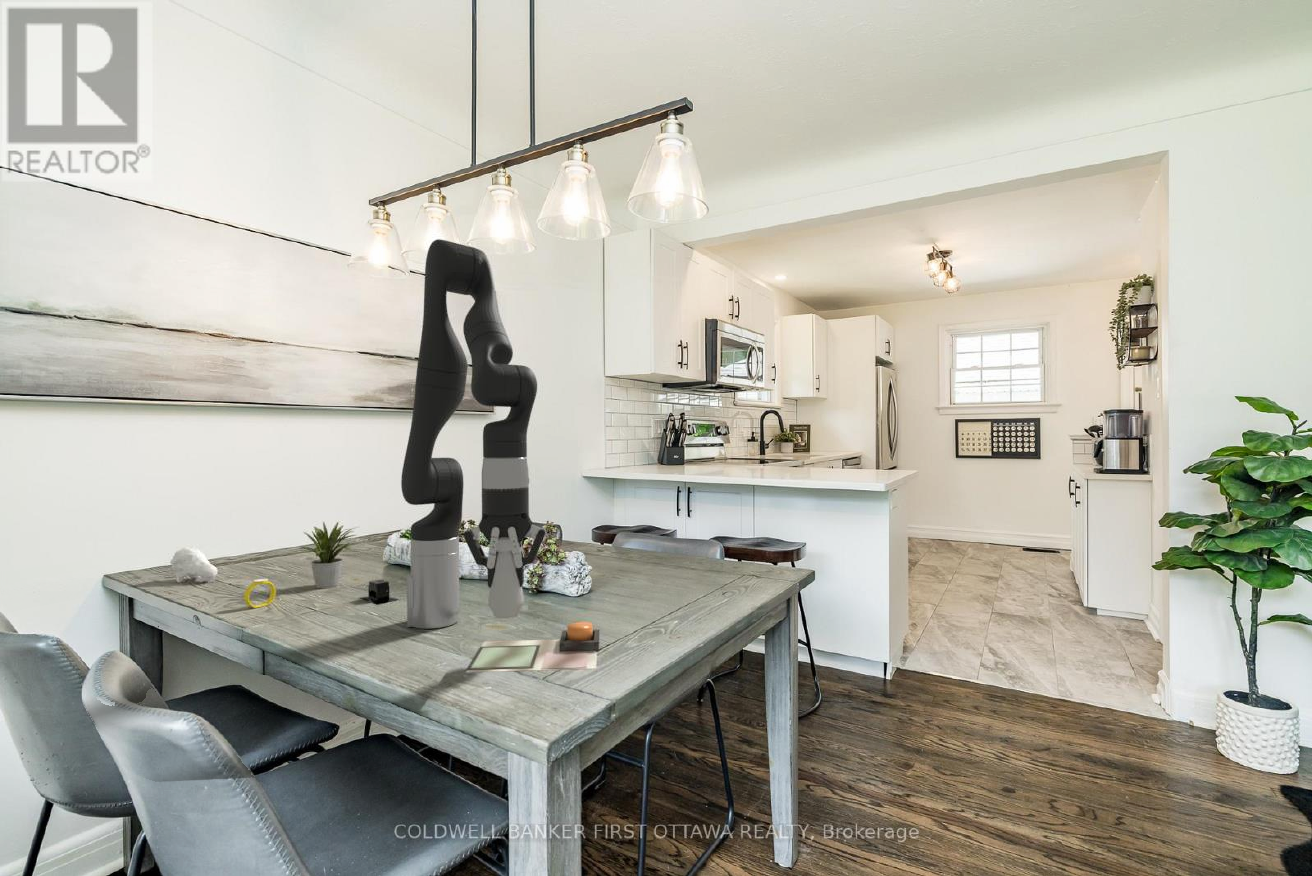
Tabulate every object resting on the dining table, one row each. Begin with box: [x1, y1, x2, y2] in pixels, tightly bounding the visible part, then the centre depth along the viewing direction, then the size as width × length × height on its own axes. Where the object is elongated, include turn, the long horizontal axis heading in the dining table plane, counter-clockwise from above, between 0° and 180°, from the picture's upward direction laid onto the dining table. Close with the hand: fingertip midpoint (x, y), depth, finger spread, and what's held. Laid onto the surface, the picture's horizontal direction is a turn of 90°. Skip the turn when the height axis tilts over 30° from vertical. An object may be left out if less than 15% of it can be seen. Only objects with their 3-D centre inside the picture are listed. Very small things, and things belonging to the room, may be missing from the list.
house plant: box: [298, 521, 359, 589], centre depth 150 cm, size 14×14×16 cm
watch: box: [243, 578, 277, 609], centre depth 133 cm, size 6×3×6 cm, turn 153°
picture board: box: [465, 629, 600, 674], centre depth 100 cm, size 22×16×3 cm
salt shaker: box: [487, 537, 525, 619], centre depth 99 cm, size 6×6×13 cm
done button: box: [566, 621, 594, 641], centre depth 105 cm, size 4×4×2 cm
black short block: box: [358, 579, 400, 606], centre depth 139 cm, size 12×7×5 cm, turn 51°
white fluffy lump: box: [170, 546, 218, 584], centre depth 156 cm, size 6×8×12 cm
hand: (506, 589), depth 99 cm, fingers closed on salt shaker, 3 cm apart
